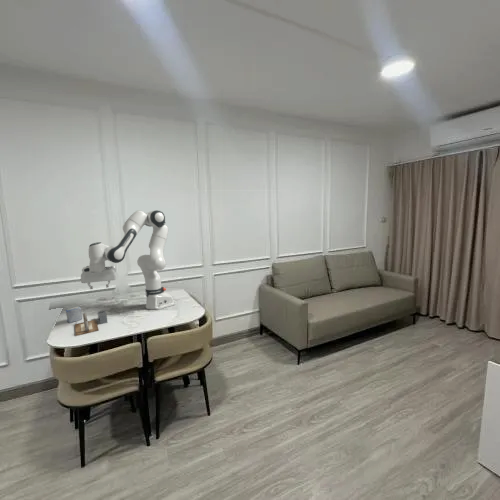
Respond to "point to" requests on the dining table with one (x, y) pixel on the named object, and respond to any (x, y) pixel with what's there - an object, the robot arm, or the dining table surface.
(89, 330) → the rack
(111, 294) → the dining table surface
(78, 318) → the medicine box
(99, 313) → the grey round-headed bar
